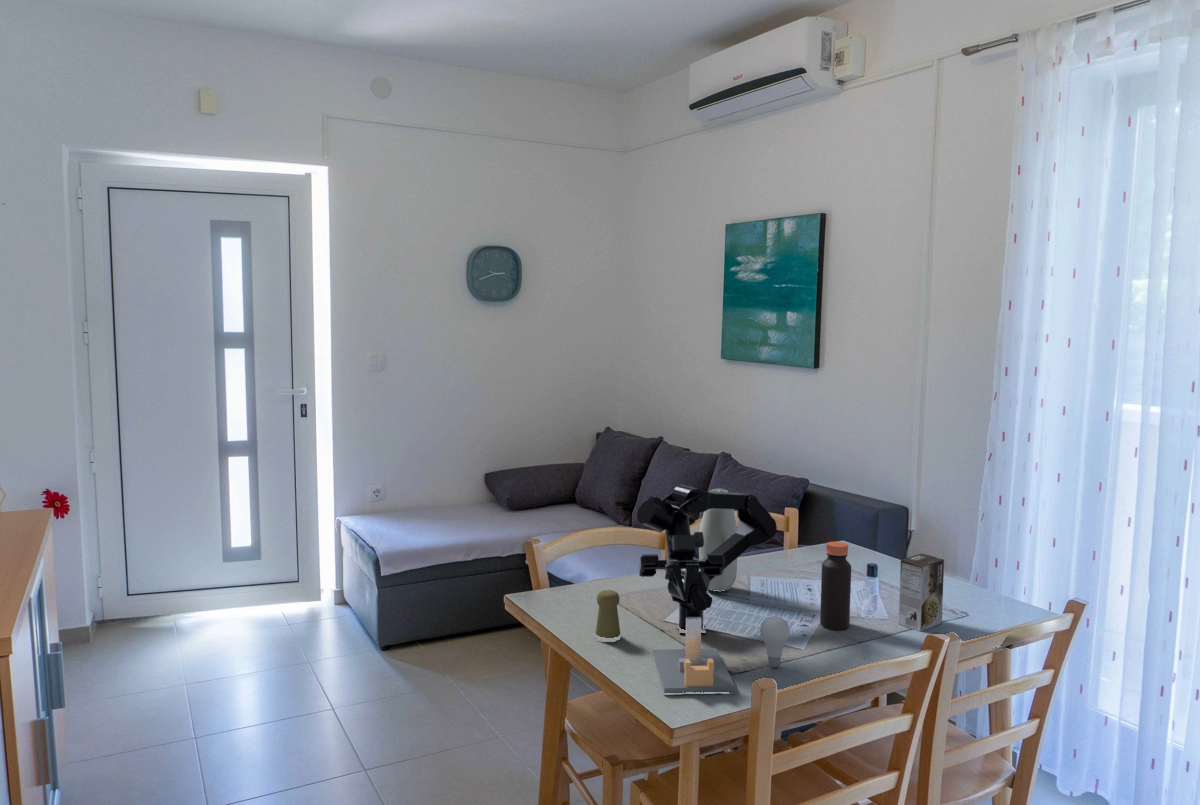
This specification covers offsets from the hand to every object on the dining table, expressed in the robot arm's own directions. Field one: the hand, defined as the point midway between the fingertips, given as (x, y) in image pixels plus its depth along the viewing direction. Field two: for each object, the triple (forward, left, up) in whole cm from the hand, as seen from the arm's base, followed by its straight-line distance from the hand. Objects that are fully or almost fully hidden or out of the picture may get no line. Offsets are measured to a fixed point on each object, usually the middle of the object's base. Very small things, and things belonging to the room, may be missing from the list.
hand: (685, 600), depth 179 cm
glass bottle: (-43, +16, -13) cm, 48 cm away
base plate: (+9, 0, -13) cm, 16 cm away
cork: (-11, -16, -13) cm, 23 cm away
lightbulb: (+7, +18, -13) cm, 23 cm away
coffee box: (-16, +60, -13) cm, 64 cm away
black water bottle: (-16, +39, -13) cm, 44 cm away
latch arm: (+11, 0, -5) cm, 12 cm away
